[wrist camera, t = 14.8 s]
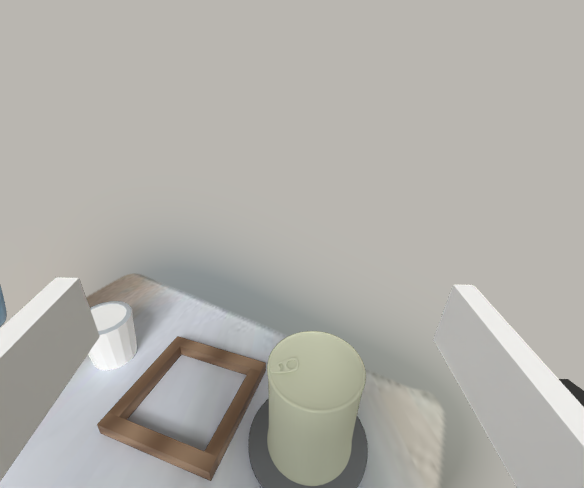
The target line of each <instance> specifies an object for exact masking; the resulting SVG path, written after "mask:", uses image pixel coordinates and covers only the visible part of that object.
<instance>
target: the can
mask: <svg viewBox="0 0 584 488" xmlns="http://www.w3.org/2000/svg"><path fill="white" fill-rule="evenodd" d="M267 374H268V389H269V429H268V435H267V443H268V450H269V453H270V456H271V459H272V461H273V463H274V464H275V466H276V467H277V468H278V470H279V471H280V472H281V473H282V474H283V475H284V476H286V477H287V478H288V479H290V480H291V481H293V482H296V483H298V484H301V485H306V486H318V485H323V484H326V483H328V482H330V481H332V480H334V479H335V478H336V477H338V476H339V475H340V474H341V473H342V471H343V470H344V469H345V467H346V465H347V463H348V461H349V458H350V455H351V447H352V436H353V431H354V426H355V421H356V417H357V412H358V408H359V403H360V399H361V395H362V391H363V389H364V386H365V381H366V372H365V367H364V364H363V361H362V359H361V357H360V356H359V354H358V353H357V352H356V350H355V349H354V348H353V347H352V346H351V345H350V344H348V343H347V342H346V341H344V340H343V339H341V338H339V337H337V336H335V335H332V334H329V333H325V332H319V331H306V332H299V333H296V334H293V335H290V336H288V337H286V338H285V339H283V340H282V341H280V342H279V343H278V344H277V345H276V346H275V347H274V349H273V350H272V352H271V354H270V356H269V359H268V363H267Z"/></svg>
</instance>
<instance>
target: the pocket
mask: <svg viewBox="0 0 584 488" xmlns="http://www.w3.org/2000/svg"><path fill="white" fill-rule="evenodd" d="M181 354H182V355H185V356H188V357H191V358H195V359H198V360H201V361H204V362H207V363H210V364H213V365H217V366H220V367H223V368H226V369H229V370H232V371H236V372H239V373H242V374H245V375H247V376H246V378H245V379H244V381H243V383H242V385H241V387H240V388H239V390H238V392H237V394H236V396H235V397H234V399H233V401H232V403H231V405H230V406H229V408H228V410H227V412H226V414H225V415H224V417H223V419H222V421H221V423H220V424H219V426H218V428H217V430H216V432H215V433H214V435H213V437H212V439H211V441H210V442H209V444H208V446H207V448H206V450H205V451H202V450H200V449H197V448H195V447H192V446H190V445H187V444H185V443H182V442H180V441H177V440H175V439H173V438H170V437H168V436H165V435H163V434H160V433H158V432H155V431H153V430H150V429H148V428H146V427H143V426H141V425H138V424H136V423H133V422H131V421H128V420H127V419H128V418H129V416H130V415H131V414H132V413H133V412H134V410H135V409H136V408H137V407H138V406H139V404H140V403H141V402H142V401H143V400H144V398H145V397H146V396H147V395H148V394H149V393H150V391H151V390H152V389H153V388H154V387H155V385H156V384H157V383H158V382H159V381H160V379H161V378H162V377H163V376H164V375H165V373H166V372H167V371H168V370H169V369H170V367H171V366H172V365H173V364H174V363H175V361H176V360H177V359H178V358H179V357H180V356H181ZM265 371H266V363H265V362H261V361H258V360H255V359H251V358H248V357H245V356H241V355H238V354H235V353H231V352H228V351H225V350H222V349H218V348H215V347H212V346H208V345H205V344H202V343H198V342H195V341H192V340H188V339H185V338H182V337H178V336H177V338H176V339H175V340H174V341H173V342H172V343H171V344H170V345H169V346H168V347H167V348H166V350H165V351H164V352H163V353H162V354H161V355H160V356H159V357H158V358H157V359H156V361H155V362H154V363H153V364H152V365H151V366H150V367H149V368H148V369H147V370H146V371H145V373H144V374H143V375H142V376H141V377H140V378H139V379H138V380H137V381H136V382H135V384H134V385H133V386H132V387H131V388H130V389H129V390H128V391H127V392H126V393H125V394H124V396H123V397H122V398H121V399H120V400H119V401H118V402H117V403H116V404H115V405H114V407H113V408H112V409H111V410H110V411H109V412H108V413H107V414H106V415H105V416H104V418H103V419H102V420H101V421H100V422H99V423H98V424H97V426H98V428H99V430H100V433H101V434H104V435H106V436H108V437H110V438H113V439H115V440H117V441H120V442H122V443H124V444H127V445H129V446H131V447H134V448H136V449H138V450H140V451H143V452H145V453H147V454H150V455H152V456H154V457H157V458H159V459H161V460H164V461H166V462H168V463H170V464H173V465H175V466H177V467H180V468H182V469H184V470H187V471H189V472H191V473H194V474H196V475H198V476H200V477H203V478H205V479H207V480H210V481H211V480H212V478H213V476H214V474H215V472H216V470H217V468H218V466H219V464H220V462H221V460H222V458H223V456H224V454H225V452H226V450H227V448H228V446H229V444H230V442H231V440H232V438H233V436H234V434H235V432H236V429H237V427H238V425H239V423H240V421H241V419H242V417H243V415H244V413H245V411H246V409H247V407H248V405H249V403H250V401H251V399H252V397H253V395H254V393H255V391H256V389H257V387H258V385H259V383H260V381H261V379H262V377H263V375H264V373H265Z"/></svg>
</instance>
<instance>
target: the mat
mask: <svg viewBox="0 0 584 488" xmlns="http://www.w3.org/2000/svg"><path fill="white" fill-rule="evenodd" d="M268 429H269V399H268V400H267V401H266V402H265V403H264V404H263V405H262V406H261V408H260V409H259V410H258V412H257V414H256V416H255V417H254V420H253V422H252V425H251V429H250V433H249V456H250V462H251V465H252V469H253V471H254V473H255V476H256V478H257V479H258V481H259V483H260V484H261V486H262V487H263V488H357V487H358V485H359V483H360V481H361V479H362V477H363V474H364V471H365V467H366V462H367V452H368V449H367V440H366V435H365V432H364V429H363V426H362V424H361V422H360V420H359V418H358V417H356V421H355V426H354V431H353V436H352V447H351V455H350V458H349V461H348V463H347V465H346V467H345V469H344V470H343V471H342V473H341V474H340V475H339V476H338V477H336V478H335V479H334V480H332V481H330V482H328V483H326V484H323V485H318V486H306V485H301V484H298V483H296V482H293V481H291V480H290V479H288V478H287V477H286V476H284V475H283V474H282V473H281V472H280V471H279V470H278V468H277V467H276V466H275V464H274V463H273V461H272V459H271V456H270V453H269V450H268V443H267V435H268Z"/></svg>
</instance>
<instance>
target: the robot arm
mask: <svg viewBox="0 0 584 488" xmlns="http://www.w3.org/2000/svg"><path fill="white" fill-rule="evenodd" d="M5 320H6V307H5V302H4V298H3V294H2V290H1V286H0V327H1V326H2V325H3V323H4V322H5ZM99 337H100V335H99V333H98V330H97V327H96V324H95V321H94V318H93V316H92V313H91V310H90V307H89V304H88V302H87V299H86V296H85V293H84V290H83V287H82V285H81V282H80V279H79V278H63V277H62V278H61V277H56V278H55V279H54V280H52V281H51V282H50V283H49V284H48V285H47V286H46V287H45V288H44V289H43V290H42V291H41V292H39V293H38V294H37V295H36V296H35V297H34V298H33V299H32V300H31V301H29V302H28V303H27V304H26V305H25V306H24V307H23V308H22V309H21V310H20V311H18V312H17V313H16V314H15V315H14V316H13V317H12V318H11V319H10V320H9V321H8V322H6V323H5V324H4V325H3V326H2V327H1V328H0V481H1V480H2V478H3V477H4V475H5V474H6V472H7V471H8V470H9V468H10V467H11V465H12V464H13V462H14V461H15V459H16V458H17V456H18V455H19V454H20V452H21V451H22V449H23V448H24V446H25V445H26V443H27V442H28V440H29V439H30V438H31V436H32V435H33V433H34V432H35V430H36V429H37V427H38V426H39V424H40V423H41V422H42V420H43V419H44V417H45V416H46V414H47V413H48V411H49V410H50V408H51V407H52V405H53V404H54V403H55V401H56V400H57V398H58V397H59V395H60V394H61V392H62V391H63V389H64V388H65V387H66V385H67V384H68V382H69V381H70V379H71V378H72V376H73V375H74V373H75V372H76V371H77V369H78V368H79V366H80V365H81V363H82V362H83V360H84V359H85V357H86V356H87V355H88V353H89V352H90V350H91V349H92V347H93V346H94V344H95V343H96V341H97V340H98V339H99ZM433 341H434V342H435V344H436V346H437V348H438V349H439V351H440V353H441V355H442V357H443V358H444V360H445V362H446V363H447V366H448V367H449V369H450V371H451V372H452V374H453V376H454V378H455V379H456V381H457V383H458V385H459V387H460V388H461V390H462V392H463V394H464V396H465V397H466V399H467V401H468V403H469V404H470V406H471V408H472V410H473V412H474V413H475V415H476V417H477V419H478V420H479V422H480V424H481V426H482V427H483V429H484V431H485V433H486V434H487V436H488V438H489V440H490V442H491V443H492V445H493V447H494V449H495V450H496V452H497V454H498V456H499V458H500V459H501V461H502V463H503V465H504V466H505V468H506V470H507V472H508V474H509V475H510V477H511V479H512V480H513V482H514V484H515V486H516V488H584V391H583V390H582V389H580V388H579V387H577V386H576V385H575V384H573V383H572V382H571V381H569V380H568V379H558V378H557V377H556V376H555V375H554V374H553V373H552V371H551V370H550V369H549V368H548V367H547V366H546V365H545V364H544V362H543V361H542V360H541V359H540V358H539V357H538V356H537V355H536V354H535V353H534V351H533V350H532V349H531V348H530V347H529V346H528V345H527V344H526V343H525V341H524V340H523V339H522V338H521V337H520V336H519V335H518V334H517V333H516V331H515V330H514V329H513V328H512V327H511V326H510V325H509V324H508V323H507V322H506V320H505V319H504V318H503V317H502V316H501V315H500V314H499V313H498V311H497V310H496V309H495V308H494V307H493V306H492V305H491V304H490V303H489V302H488V300H487V299H486V298H485V297H484V296H483V295H482V294H481V293H480V292H479V290H478V289H477V288H476V287H475V286H474V285H453V286H452V289H451V292H450V295H449V297H448V300H447V303H446V305H445V308H444V311H443V314H442V316H441V320H440V322H439V325H438V328H437V330H436V333H435V336H434V338H433Z"/></svg>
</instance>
